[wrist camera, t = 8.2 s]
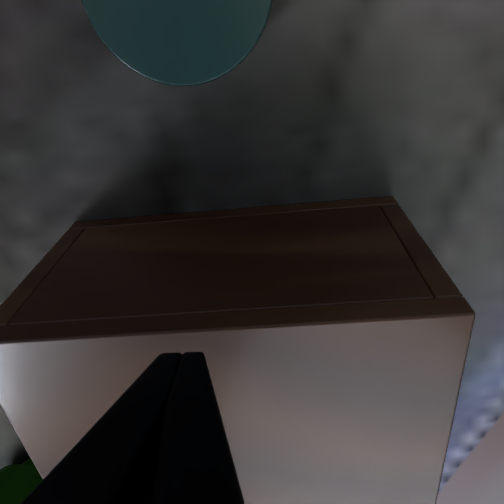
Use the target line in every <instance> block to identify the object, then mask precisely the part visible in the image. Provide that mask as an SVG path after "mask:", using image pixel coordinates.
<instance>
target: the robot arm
mask: <svg viewBox="0 0 504 504" xmlns="http://www.w3.org/2000/svg"><path fill="white" fill-rule="evenodd" d="M21 504H245V502H244V498H243V495H242V491H241V487H240V484H239V480H238V476H237V473H236V469H235V465H234V461H233V458H232V454H231V450H230V447H229V443H228V439H227V436H226V432H225V428H224V425H223V421H222V417H221V414H220V410H219V406H218V402H217V399H216V395H215V391H214V388H213V384H212V380H211V377H210V373H209V369H208V366H207V362H206V358H205V355H204V353H203V352H185V353H183V354H181V353H179V352H174V353H161V354H160V355H159V356H158V357H157V358H156V359H155V360H154V361H153V362H152V363H151V364H150V365H149V366H148V367H147V368H146V369H145V371H144V372H143V373H142V374H141V375H140V376H139V377H138V378H137V379H136V380H135V381H134V382H133V383H132V385H131V386H130V387H129V388H128V389H127V390H126V391H125V392H124V393H123V394H122V395H121V396H120V397H119V399H118V400H117V401H116V402H115V403H114V404H113V405H112V406H111V407H110V408H109V409H108V410H107V411H106V413H105V414H104V415H103V416H102V417H101V418H100V419H99V420H98V421H97V422H96V423H95V424H94V425H93V427H92V428H91V429H90V430H89V431H88V432H87V433H86V434H85V435H84V436H83V437H82V438H81V439H80V441H79V442H78V443H77V444H76V445H75V446H74V447H73V448H72V449H71V450H70V451H69V452H68V453H67V455H66V456H65V457H64V458H63V459H62V460H61V461H60V462H59V463H58V464H57V465H56V466H55V467H54V469H53V470H52V471H51V472H50V473H49V474H48V475H47V476H46V477H45V478H44V479H43V480H42V481H41V483H40V484H39V485H38V486H37V487H36V488H35V489H34V490H33V491H32V492H31V493H30V494H29V495H28V497H27V498H26V499H25V500H24V501H23V502H22V503H21Z"/></svg>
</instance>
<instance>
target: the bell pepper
mask: <svg viewBox="0 0 504 504" xmlns="http://www.w3.org/2000/svg"><path fill="white" fill-rule="evenodd" d="M42 480H43V479H42V477H41V476H40V474H39V472H38V470H37V469H36V467H35V465H34V463H33V462H32V460H31V458H29V459H28V460H26V461H25V462H24V463H22V464H21V465H20V464H13V465H9V466H6V467H4V468H2V469H1V470H0V504H21V503H22V502H23V501H24V500H25V499H26V498H27V497H28V495H29V494H30V493H31V492H32V491H33V490H34V489H35V488H36V487H37V486H38V485H39V484H40V483H41V481H42Z"/></svg>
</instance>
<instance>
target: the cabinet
mask: <svg viewBox="0 0 504 504" xmlns="http://www.w3.org/2000/svg"><path fill="white" fill-rule="evenodd" d="M474 319H475V312H474V311H473V309H472V308H471V306H470V305H469V304H468V302H467V301H466V299H465V298H464V297H462V294H461V292H460V291H459V290H458V288H457V287H456V285H455V284H454V282H453V281H452V280H451V278H450V277H449V275H448V274H447V273H446V271H445V270H444V268H443V267H442V265H441V264H440V263H439V261H438V260H437V258H436V257H435V256H434V254H433V253H432V251H431V250H430V248H429V247H428V246H427V244H426V243H425V241H424V240H423V239H422V237H421V236H420V234H419V233H418V232H417V230H416V229H415V227H414V226H413V224H412V223H411V222H410V220H409V219H408V217H407V216H406V215H405V213H404V212H403V210H402V209H401V207H400V206H399V205H398V203H397V201H396V200H395V198H394V197H393V196H389V197H376V198H364V199H351V200H339V201H326V202H314V203H301V204H289V205H276V206H264V207H251V208H239V209H226V210H214V211H201V212H189V213H176V214H164V215H151V216H139V217H126V218H114V219H101V220H89V221H76V222H75V223H74V224H73V225H72V226H71V227H70V228H69V230H68V231H67V232H66V233H65V234H64V235H63V236H62V237H61V238H60V240H59V241H58V242H57V243H56V244H55V245H54V246H53V247H52V249H51V250H50V251H49V252H48V253H47V254H46V255H45V256H44V257H43V259H42V260H41V261H40V262H39V263H38V264H37V265H36V266H35V268H34V269H33V270H32V271H31V272H30V273H29V274H28V275H27V276H26V278H25V279H24V280H23V281H22V282H21V283H20V284H19V285H18V287H17V288H16V289H15V290H14V291H13V292H12V293H11V294H10V296H9V297H8V298H7V299H6V300H5V301H4V302H3V303H2V304H1V306H0V405H1V407H2V409H3V411H4V412H5V414H6V416H7V418H8V419H9V421H10V423H11V425H12V426H13V428H14V430H15V432H16V433H17V435H18V437H19V439H20V440H21V442H22V444H23V446H24V447H25V449H26V451H27V453H28V455H29V456H30V458H31V460H32V462H33V463H34V465H35V467H36V469H37V470H38V472H39V474H40V476H41V477H42V479H44V478H45V477H46V476H47V475H48V474H49V473H50V472H51V471H52V470H53V469H54V467H55V466H56V465H57V464H58V463H59V462H60V461H61V460H62V459H63V458H64V457H65V456H66V455H67V453H68V452H69V451H70V450H71V449H72V448H73V447H74V446H75V445H76V444H77V443H78V442H79V441H80V439H81V438H82V437H83V436H84V435H85V434H86V433H87V432H88V431H89V430H90V429H91V428H92V427H93V425H94V424H95V423H96V422H97V421H98V420H99V419H100V418H101V417H102V416H103V415H104V414H105V413H106V411H107V410H108V409H109V408H110V407H111V406H112V405H113V404H114V403H115V402H116V401H117V400H118V399H119V397H120V396H121V395H122V394H123V393H124V392H125V391H126V390H127V389H128V388H129V387H130V386H131V385H132V383H133V382H134V381H135V380H136V379H137V378H138V377H139V376H140V375H141V374H142V373H143V372H144V371H145V369H146V368H147V367H148V366H149V365H150V364H151V363H152V362H153V361H154V360H155V359H156V358H157V357H158V356H159V355H160V354H161V353H174V352H179V353H181V354H183V353H185V352H203V353H204V355H205V358H206V362H207V366H208V369H209V373H210V377H211V380H212V384H213V388H214V391H215V395H216V399H217V402H218V406H219V410H220V414H221V417H222V421H223V425H224V428H225V432H226V436H227V439H228V443H229V447H230V450H231V454H232V458H233V461H234V465H235V469H236V473H237V476H238V480H239V484H240V487H241V491H242V495H243V498H244V502H245V504H436V500H437V495H438V491H439V486H440V481H441V476H442V471H443V467H444V462H445V457H446V452H447V448H448V443H449V438H450V433H451V428H452V424H453V419H454V414H455V409H456V405H457V400H458V395H459V390H460V385H461V381H462V376H463V371H464V366H465V362H466V357H467V352H468V347H469V342H470V338H471V333H472V328H473V323H474Z"/></svg>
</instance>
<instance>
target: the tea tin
mask: <svg viewBox="0 0 504 504" xmlns="http://www.w3.org/2000/svg"><path fill="white" fill-rule="evenodd" d="M272 1H273V0H82V3H83V6H84V8H85V11H86V13H87V15H88V18H89V20H90V22H91V24H92V25H93V27H94V29H95V31H96V33H97V34H98V36H99V37H100V38H101V40H102V41H103V43H104V44H105V45H106V46H107V47H108V49H109V50H110V51H111V52H112V53H113V54H114V55H115V56H116V57H117V58H118V59H119V60H120V61H121V62H122V63H124V64H125V65H126V66H128V67H129V68H130V69H132V70H133V71H135V72H137V73H138V74H140V75H142V76H144V77H146V78H148V79H151V80H153V81H156V82H159V83H163V84H167V85H175V86H193V85H199V84H204V83H207V82H210V81H213V80H215V79H218V78H220V77H222V76H224V75H225V74H227V73H228V72H230V71H231V70H233V69H234V68H235V67H236V66H238V65H239V64H240V63H241V62H242V61H243V60H244V59H245V58H246V57H247V56H248V54H249V53H250V52H251V51H252V49H253V48H254V46H255V45H256V43H257V42H258V40H259V38H260V36H261V34H262V32H263V30H264V28H265V26H266V23H267V20H268V17H269V14H270V10H271V5H272Z"/></svg>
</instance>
